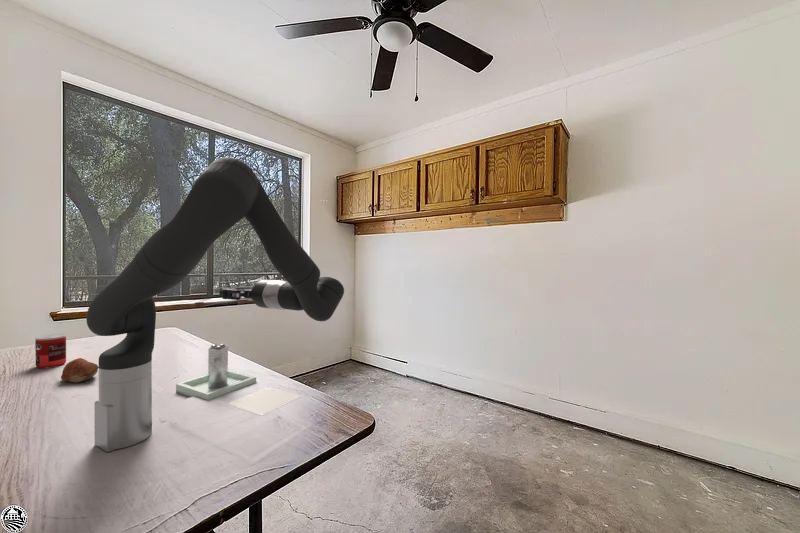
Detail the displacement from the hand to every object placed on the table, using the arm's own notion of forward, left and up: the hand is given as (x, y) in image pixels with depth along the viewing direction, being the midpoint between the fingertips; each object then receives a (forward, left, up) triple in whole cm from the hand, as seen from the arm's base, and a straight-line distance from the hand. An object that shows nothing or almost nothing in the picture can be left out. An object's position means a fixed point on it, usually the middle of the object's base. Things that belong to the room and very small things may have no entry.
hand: (235, 290), depth 93 cm
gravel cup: (+4, +14, -31) cm, 34 cm away
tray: (+4, +14, -32) cm, 35 cm away
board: (+4, -8, -32) cm, 33 cm away
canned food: (-13, +88, -32) cm, 95 cm away
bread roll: (-14, +60, -32) cm, 70 cm away
